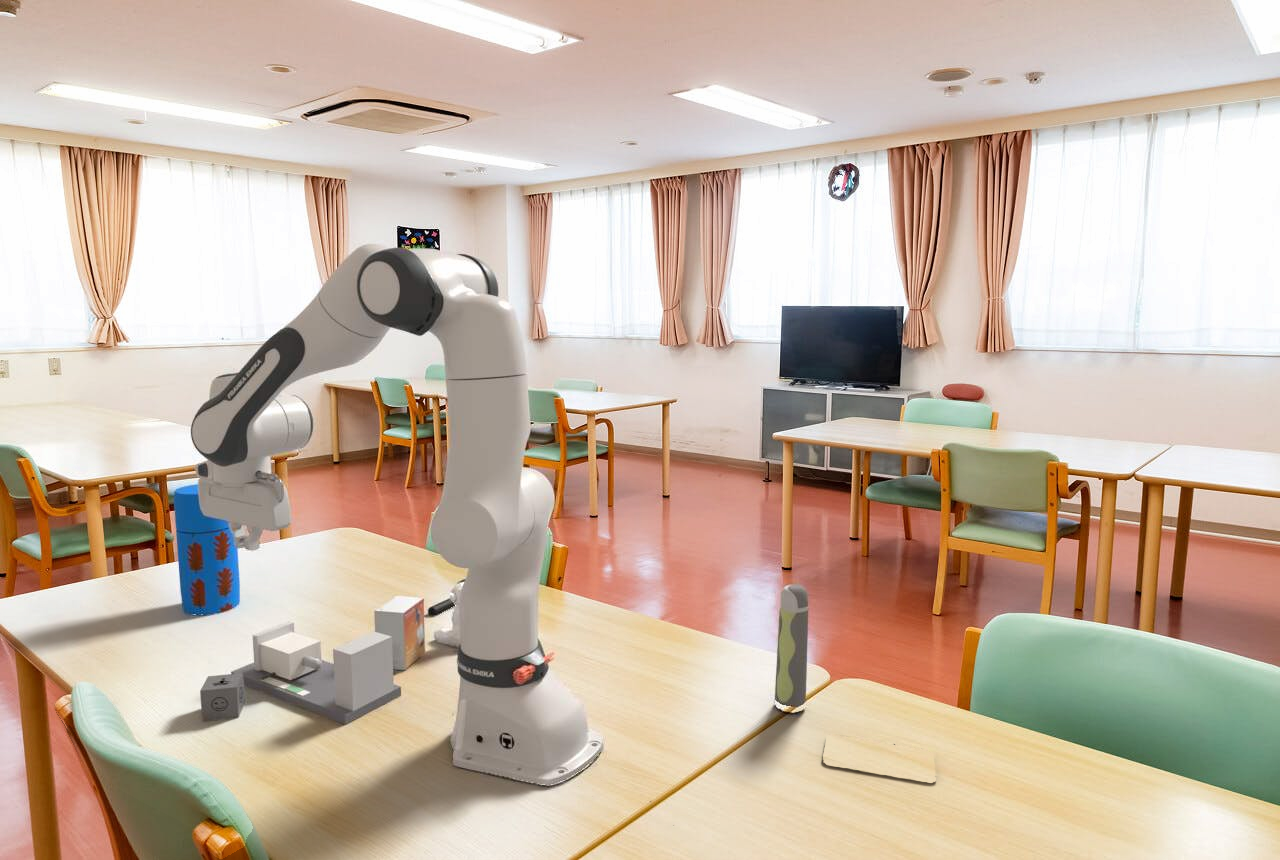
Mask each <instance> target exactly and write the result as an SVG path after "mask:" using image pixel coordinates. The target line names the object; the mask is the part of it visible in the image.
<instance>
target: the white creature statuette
mask: <svg viewBox="0 0 1280 860" xmlns="http://www.w3.org/2000/svg"><path fill="white" fill-rule="evenodd" d="M463 584H464V582H462V583H459V584H457V583H455V586H454V587H453V588H452V589H451V590H450V592H449V593H448V595H449V598H450V600H451V601H452V602H453V603H454V605H456V606H454V607H453V611H452V614H451V623H452V627H451V629H452V630H451V629H450V628H448V627H447V628H444V627H440V628H439V629H437V630H435V631H434V632H433V638H434V640H435V641H436V642H437V643H438V644H443V645H446V646H450V647H454V648H457V649H458V646H459V644H460V592H461V589H462V586H463Z"/></svg>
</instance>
